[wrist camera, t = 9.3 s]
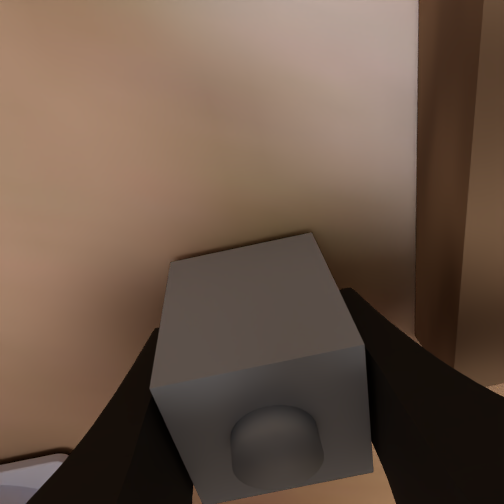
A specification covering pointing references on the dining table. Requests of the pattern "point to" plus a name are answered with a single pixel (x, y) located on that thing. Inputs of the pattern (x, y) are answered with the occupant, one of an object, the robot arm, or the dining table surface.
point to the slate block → (261, 371)
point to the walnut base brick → (461, 186)
